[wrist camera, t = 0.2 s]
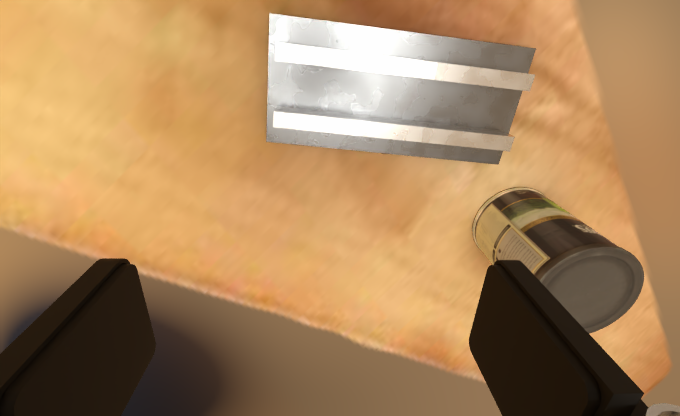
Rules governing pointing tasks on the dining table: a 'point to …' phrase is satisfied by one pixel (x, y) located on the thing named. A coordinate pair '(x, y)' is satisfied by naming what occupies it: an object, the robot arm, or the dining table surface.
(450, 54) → the door track
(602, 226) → the dining table surface
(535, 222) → the coffee can
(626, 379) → the robot arm
